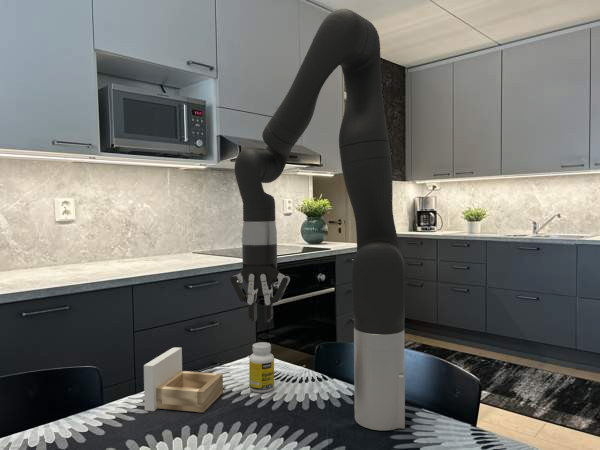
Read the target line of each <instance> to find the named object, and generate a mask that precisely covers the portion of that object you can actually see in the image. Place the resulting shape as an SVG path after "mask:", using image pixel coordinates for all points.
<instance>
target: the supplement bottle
mask: <svg viewBox="0 0 600 450" xmlns="http://www.w3.org/2000/svg"><path fill="white" fill-rule="evenodd" d="M271 346H272V345H271V344H270V342H262V341H260V342H256V343H253V344H252V352H253V353H251V354H250V356H249V360H248V362H249V365H248V366H249V369H248V370H249V373H248V374H249V377H248V378H249V379H248V380H249V383H248V384H249V389H250V391H251V392H253V393H259V394H262V393H263V394H264V393H268V392H271V391H273V389H274V388H275V356H274V355H273V353H271V351H272V347H271Z"/></svg>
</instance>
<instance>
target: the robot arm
mask: <svg viewBox="0 0 600 450" xmlns="http://www.w3.org/2000/svg"><path fill="white" fill-rule="evenodd" d="M380 42H381V40H380V36H379V31H378V30H377V28H376V26H375V25H374V24H373V23H372V22H371V21H369V19H367V18H365V17H363V16H362V15H360V14H358V13H357V12H355V11H353V10H351V9H348V8H337V9H335V10H333V11H331V12H330V13H328V15H327V16H326V17H325V18H324V19H323V20H322V22H321V24H320V25H319V27H318V29H317V30H316V33H315V35H314V37H313V39H312V41H311V44H310V46H309V47H308V48H309V49H308V50H307V52H306V55H305V56H304V58H303V61H302V63H301V65H300V67H299V69H298V72H297V74H296V76H295V78H294V80H293V82H292V84H291V85H290V88H289V89H288V92H287V93H286V95H285V97H284V99H283V100H282V101H281V103H280V105H279V106H278V107H277V110H276V111H275V112H274V114H273V115H272V116H271V118H270V119H269V121H268V123H267V124H266V126H265V127H264V128H263V131H262V136H261V137H262V140H263V142H264V143H265V144H266V148H265V149H264V150H261V149H255V148H245V149H243V150H241V151H240V152H239V153H238V155H237V156H236V159H235V162H234V176H235V180H236V183H237V187H238V191H239V195H240V197H241V202H242V229H241V231H242V232H241V242H242V243H241V247H242V248H241V249H242V255H241V256H242V268H241V270H240V272H239V273H238V274H235V275H231V276H230V278H229V280H230V282H231V284H232V287H233V289H234V291H235V293H236V295H237V296H238V297H237V298H238V299H239V302H244V303H246V304H247V306H248V318H249V320H251V323H252V322H253V323H254V322H256V321H257V320H258V302H256V301H257V297H258V295H257V294H258V291H259V289H260V290H262V294H263V297H264V298H263V299H264V307H263V309H264V323H270V322H271V320H272V319H273V316H274V304H276V303H278V302H280V301H281V300H282V297H283V296H284V294H285V291H286V289H287V287H288V285H289V284H290V281H291V277H290V276H289V275H284V274H283V273H281V272H280V269H279V267H278V236H277V235H278V233H277V225H276V223H277V222H276V200H275V197H274V196H273V195H271V194H269V193H267V192H265V190H264V187H263V184H269V183H273V182H274V181H276V180H277V179H278V178H279V177H280V176H281V175H282V174H283V172H284V170H285V168H286V165H287V163H288V159H289V157H290V155H291V151H292V148H293V147H294V146H295V145H296V143H297V142H298V141H299V139H300V138H301V137H302V136H303V134H304V133H305V131H306V129H308V126H309V125H310V123H311V121H312V119H313V117H314V114H315V113H314V112H315V109H316V107H317V101H318V98H319V95H320V93H321V90H322V88H323V86H324V85H325V83H326V81H327V80H328V78H329V77H330V76H331V74H332V73H333V72H334V71H335V70H336V69H337V68H338V67H339V66H340V67H341V71H342V74H343V75H342V76H343V80H344V86H345V95H346V100H345V108H344V112H343V115H342V120H341V124H340V128H339V135H338V147H339V149H338V150H339V157H340V164H341V165H340V166H341V171H342V175H343V179H344V184H345V188H346V191H347V195H348V198H349V202H350V205H351V208H352V212H353V215H354V222H355V233H356V234H355V235H356V253H355V256H354V257H353V260H352V264H351V265H352V266H351V297H352V299H351V302H352V303H351V304H352V305H351V307H352V315H353V357H354V358H353V361H354V363H353V370H354V371H353V375H354V380H353V381H354V382H353V384H354V385H353V386H354V389H353V390H354V392H353V393H354V394H353V395H354V396H353V397H354V405H353V409H354V420H355V422H356V424H358V425H359V426H361V427H363V428H366V429H370V430H373V431H394V430H396V429H403V430H404V429H405V428H406V403H405V402H406V391H405V390H406V379H405V378H406V374H405V372H406V371H405V370H406V369H405V366H406V365H405V324H406V323H405V319H406V317H405V316H406V314H405V312H406V311H405V310H406V309H405V260H404V257H403V254H402V250H401V245H400V242H399V237H398V233H397V230H396V224H395V219H394V212H393V211H394V208H393V187H394V186H393V167H392V156H391V149H390V139H389V134H388V128H387V121H386V113H385V106H384V98H383V92H382V76H381V75H382V70H381V66H382V65H381V43H380ZM243 279H244V281H245V282H246V284H247V291H246V288H245V286H244V284H243V282H244V281H243ZM276 280H278V281H277V283H278V285H279V286H278V288H277V290H276V292H275V294H274V296H273V291H274V290H273V289H274V288H273V284H274V282H275V281H276Z"/></svg>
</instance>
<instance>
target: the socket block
mask: <svg viewBox="0 0 600 450" xmlns="http://www.w3.org/2000/svg"><path fill="white" fill-rule="evenodd" d="M223 376H224V375H223V373H215V372H203V371H201V372H200V371H188V370H182V371H179V372H178V373H176V374H175V375H174V376H172V377H171V378H169V379H168V380H167V381H165V382H164V383H163V384H161V385H160V386H159V387H157V388H156V406H157V409H160V410H161V409H163V410H172V411H173V410H174V411H183V412H193V413H194V412H196V413H205V412H206V410H207V409H208V408H210V407H211V406H212V404H213V403H214V402H215V401H216V400H217V399H218V398H219V397H221V395H222V394H223V393H224V377H223Z"/></svg>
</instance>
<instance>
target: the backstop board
mask: <svg viewBox="0 0 600 450" xmlns="http://www.w3.org/2000/svg"><path fill="white" fill-rule="evenodd" d="M182 349H183V348H182V347H172V348H170V349H168V350H166V351H165V352H163V353H161V354H159V356H158V355H157V356H156V357H155V358H153V359H152V360H150V361H149V362H147V363H145V364H144V365H143V384H144V385H143V391H144V392H143V393H144V394H143V395H144V397H143V399H144V411H148V412H155V411H156V410H157V409H158V408H157V406H156V388H157V387H159V386H160V385H161V384H163V383H164V382H165V381H167V380H168V379H169V378H171V377H172V376H174V375H175V374H176V373H178V372H179V371H183V354H182V353H183V350H182Z"/></svg>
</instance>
